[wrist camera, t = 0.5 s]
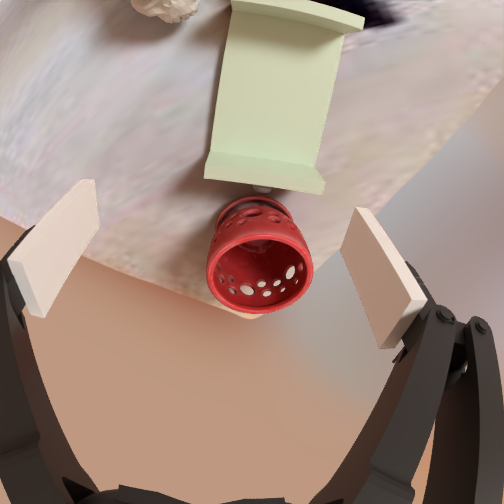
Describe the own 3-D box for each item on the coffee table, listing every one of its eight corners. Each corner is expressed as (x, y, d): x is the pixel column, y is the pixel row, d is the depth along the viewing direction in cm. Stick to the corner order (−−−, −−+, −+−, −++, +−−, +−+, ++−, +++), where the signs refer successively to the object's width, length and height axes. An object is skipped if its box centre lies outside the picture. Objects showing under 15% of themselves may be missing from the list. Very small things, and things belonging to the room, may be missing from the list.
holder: (236, -6, 26) (235, -22, 20) (345, 17, 27) (366, 9, 22) (208, 167, 39) (202, 187, 34) (307, 182, 41) (319, 204, 35)
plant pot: (196, 238, 46) (186, 291, 36) (244, 171, 40) (246, 211, 30) (264, 275, 51) (270, 329, 41) (315, 218, 45) (336, 267, 35)
